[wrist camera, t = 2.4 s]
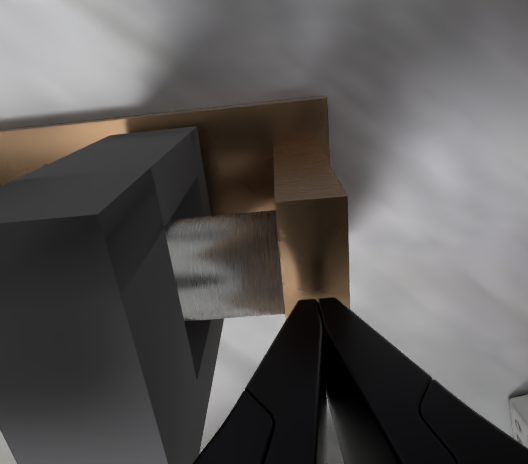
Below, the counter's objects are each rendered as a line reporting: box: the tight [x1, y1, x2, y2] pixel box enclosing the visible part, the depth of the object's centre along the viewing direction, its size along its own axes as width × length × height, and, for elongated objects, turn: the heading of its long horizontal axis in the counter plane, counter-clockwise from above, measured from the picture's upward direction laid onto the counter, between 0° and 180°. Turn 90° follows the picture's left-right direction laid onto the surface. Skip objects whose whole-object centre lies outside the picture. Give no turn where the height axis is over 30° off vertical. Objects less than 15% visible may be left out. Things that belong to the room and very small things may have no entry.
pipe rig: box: [0, 96, 350, 321], centre depth 14 cm, size 22×8×7 cm, turn 96°
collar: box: [0, 126, 224, 464], centre depth 11 cm, size 3×7×8 cm, turn 6°
